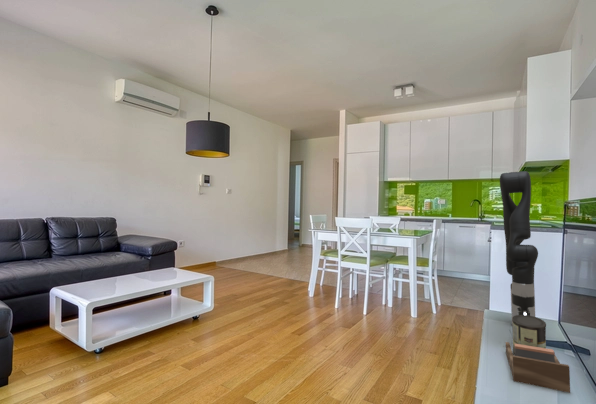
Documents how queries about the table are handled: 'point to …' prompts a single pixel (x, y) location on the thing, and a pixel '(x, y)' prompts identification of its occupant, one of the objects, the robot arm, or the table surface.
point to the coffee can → (529, 331)
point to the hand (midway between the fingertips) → (524, 335)
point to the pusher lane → (539, 372)
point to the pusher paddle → (534, 352)
